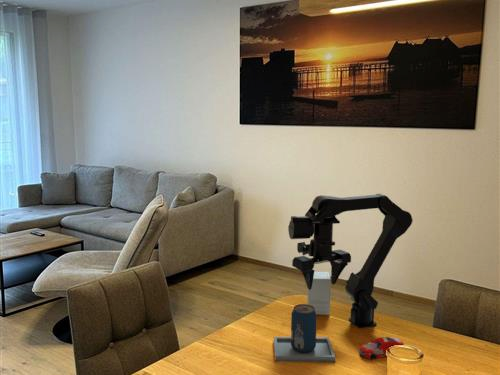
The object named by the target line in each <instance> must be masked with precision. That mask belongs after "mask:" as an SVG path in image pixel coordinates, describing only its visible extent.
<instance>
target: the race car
mask: <svg viewBox="0 0 500 375" xmlns="http://www.w3.org/2000/svg"><path fill="white" fill-rule="evenodd" d="M394 345H404V346H405V343H404V342H403V341H402V340H400V339H399V338H396V337H392V336H391V337H390V336H383V337H378V338H376V339H370V342H366V343H363V344H361V345H360V347H359V351H358V352H359V355H360V356H362V357H363V358H365V359H369V360H371V361H373V360H376V359H381V358H385V357H386V350H387V349H388V348H389V347H391V346H394Z"/></svg>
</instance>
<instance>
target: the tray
mask: <svg viewBox="0 0 500 375" xmlns="http://www.w3.org/2000/svg"><path fill="white" fill-rule="evenodd" d="M332 345H333V344H332V343H331V340H330V337H325V336H324V337H323V336H322V337H321V336H320V337H319V336H316V347H315V348H314V350H313V351H312V352H311V353H308V354H300V353H297V352H295V351H294V349H293V348H292V346H291V336H273V350H274V359H275V360H274V361H275V362H283V363H284V362H285V363H286V362H290V363H291V362H292V363H293V362H295V363H296V362H299V363H301V362H302V363H305V362H306V363H307V362H308V363H336V355H335V351H334V349H333V346H332Z"/></svg>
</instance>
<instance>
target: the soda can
mask: <svg viewBox="0 0 500 375" xmlns="http://www.w3.org/2000/svg"><path fill="white" fill-rule="evenodd" d="M317 315H318V314H316V312H315V309H314V307H313V306H311V305H307V303H301V304H295V306H294V307H293V309H292V312H291V317H290V318H291V319H290V321H291V322H290V323H291V324H290V337H291V346H292V348H293V349H294V351H295V352H297V353H300V354H308V353H311V352H312V351H313V350H314V348H315V347H316V337H317V318H318V317H317Z"/></svg>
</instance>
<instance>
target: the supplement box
mask: <svg viewBox="0 0 500 375" xmlns="http://www.w3.org/2000/svg"><path fill="white" fill-rule="evenodd" d="M331 286H332V282H331V274H330V272H329V271H314V277H313V283H312V288H311V290H309V289H308V288H307V299H306V300H307V303H306V304H307V305H311V306H313V307H314V309H315V312H316V314H317V315H318V316H319V315H324V316H326V315H327V316H330V315H331V314H330V313H331Z"/></svg>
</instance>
